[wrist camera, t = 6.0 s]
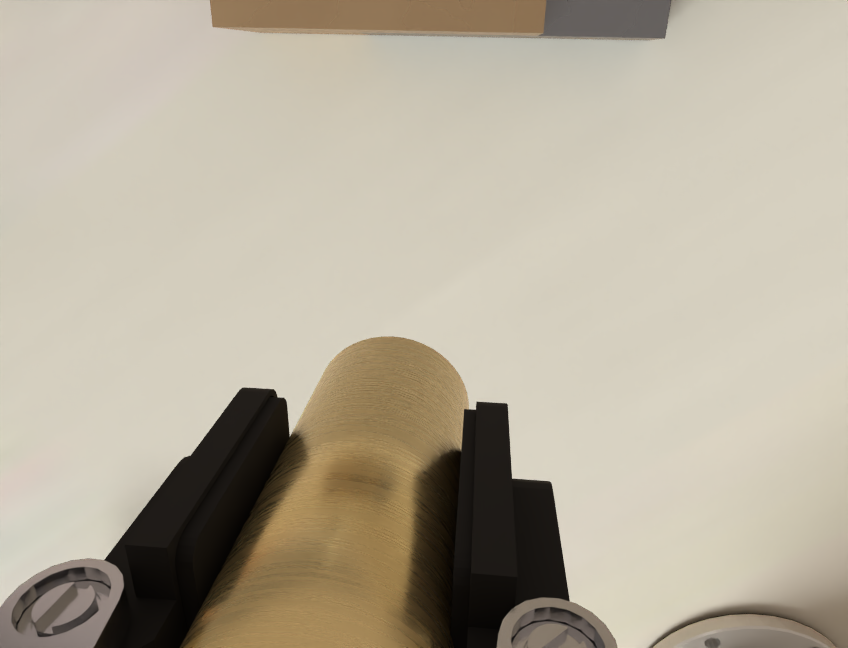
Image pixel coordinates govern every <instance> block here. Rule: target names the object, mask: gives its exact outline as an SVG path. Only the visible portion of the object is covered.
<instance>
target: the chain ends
mask: <svg viewBox="0 0 848 648" xmlns="http://www.w3.org/2000/svg"><path fill="white" fill-rule="evenodd" d="M670 4H671V0H210V5H211V15H212V24H213V27H217V28H226V29H234V30H243V31H251V32H260V33H306V34H356V35H407V36H458V37H509V38H560V39H611V40H655V39H664V38H665V35H666V29H667V23H668V16H669V10H670Z"/></svg>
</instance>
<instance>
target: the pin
mask: <svg viewBox="0 0 848 648" xmlns="http://www.w3.org/2000/svg"><path fill="white" fill-rule="evenodd" d="M464 409H469V402H468V396H467V392H466V389H465V386H464V383H463V381H462V379H461V377H460V375H459V374H458V372H457V371H456V370H455V368H454V367H453V366H452V365H451V364H450V363H449V361H448V360H446V359H445V358H444V357H443V356H442V355H441V354H439V353H438V352H436V351H435V350H433V349H432V348H430V347H428V346H426V345H424V344H422V343H419V342H416V341H414V340H410V339H405V338H400V337H376V338H370V339H366V340H362V341H360V342H357V343H355V344H353V345H351V346H349V347H347V348H346V349H344V350H343V351H342V352H340V353H339V354H338V355H337V356H336V357H335V358H334V359H333V360H332V361H331V362H330V363H329V365H328V366H327V368H326V369H325V371H324V373H323V375H322V377H321V379H320V381H319V383H318V385H317V386H316V388H315V390H314V392H313V394H312V396H311V398H310V400H309V402H308V404H307V406H306V408H305V409H304V411H303V413H302V415H301V417H300V419H299V421H298V423H297V425H296V427H295V429H294V430H293V432H292V434H291V436H290V438H289V440H288V442H287V444H286V446H285V448H284V450H283V451H282V453H281V455H280V457H279V459H278V461H277V463H276V465H275V467H274V469H273V471H272V472H271V474H270V476H269V478H268V480H267V482H266V484H265V486H264V488H263V490H262V492H261V494H260V495H259V497H258V499H257V501H256V503H255V505H254V507H253V509H252V511H251V513H250V515H249V516H248V518H247V520H246V522H245V524H244V526H243V528H242V530H241V532H240V534H239V536H238V537H237V539H236V541H235V543H234V545H233V547H232V549H231V551H230V553H229V555H228V557H227V558H226V560H225V562H224V564H223V566H222V568H221V570H220V572H219V574H218V576H217V578H216V580H215V581H214V583H213V585H212V587H211V589H210V591H209V593H208V595H207V597H206V599H205V601H204V602H203V604H202V606H201V608H200V610H199V612H198V614H197V616H196V618H195V620H194V622H193V623H192V625H191V627H190V629H189V631H188V633H187V635H186V637H185V639H184V641H183V643H182V644H181V646H180V648H454V645H453V641H452V637H451V635H450V631H451V609H452V587H453V568H454V552H455V537H456V522H457V507H458V492H459V478H460V463H461V448H462V433H463V418H464Z"/></svg>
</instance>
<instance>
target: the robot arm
mask: <svg viewBox="0 0 848 648" xmlns="http://www.w3.org/2000/svg"><path fill="white" fill-rule="evenodd" d="M289 438H290V436H289V424H288V411H287V402H286V400H285V399H284V398H277V394H276V391H275V390H274V389H259V388H242V389H241V390H239V392H238V393H237V394H236V396H235V397H234V398H233V400H232V401H231V402H230V404H229V405H228V406H227V408H226V409H225V411H224V412H223V413H222V415H221V416H220V417H219V419H218V420H217V421H216V423H215V424H214V425H213V427H212V428H211V429H210V431H209V432H208V433H207V435H206V436H205V437H204V439H203V440H202V441H201V443H200V444H199V445H198V447H197V448H196V449H195V451H194V452H193V453H192V455H191V456H188V457H185V458H183V459H182V460H181V461H180V462H179V463H178V464H177V466H176V467H175V468H174V470H173V471H172V472H171V474H170V475H169V476H168V477H167V479H166V480H165V481H164V483H163V484H162V485H161V487H160V488H159V489H158V491H157V492H156V493H155V494H154V496H153V497H152V498H151V500H150V501H149V502H148V504H147V505H146V506H145V508H144V509H143V510H142V511H141V513H140V514H139V515H138V517H137V518H136V519H135V521H134V522H133V523H132V525H131V526H130V527H129V528H128V530H127V531H126V532H125V534H124V535H123V536H122V538H121V539H120V540H119V542H118V543H117V544H116V546H115V547H114V548H113V549H112V551H111V552H110V553H109V555H108V556H107V557H106V559H105V560H98V559H90V558H89V559H80V560H71V561H68V562H65V563H61V564H58V565H55V566H52V567H50V568H48V569H46V570H44V571H42V572H40V573H38V574H36V575H34V576H33V577H31V578H30V579H28V580H27V581H26V582H24V583H23V584H21V585H20V586H19V587H18V588H17V589H16V590H15V591H14V592H13V593H12V594H11V595H10V596H9V597H8V598H7V599H6V601H5V602H4V603H3V605H2V606H1V607H0V648H180V646H181V644H182V643H183V641H184V639H185V637H186V635H187V633H188V631H189V629H190V627H191V625H192V623H193V622H194V620H195V618H196V616H197V614H198V612H199V610H200V608H201V606H202V604H203V602H204V601H205V599H206V597H207V595H208V593H209V591H210V589H211V587H212V585H213V583H214V581H215V580H216V578H217V576H218V574H219V572H220V570H221V568H222V566H223V564H224V562H225V560H226V558H227V557H228V555H229V553H230V551H231V549H232V547H233V545H234V543H235V541H236V539H237V537H238V536H239V534H240V532H241V530H242V528H243V526H244V524H245V522H246V520H247V518H248V516H249V515H250V513H251V511H252V509H253V507H254V505H255V503H256V501H257V499H258V497H259V495H260V494H261V492H262V490H263V488H264V486H265V484H266V482H267V480H268V478H269V476H270V474H271V472H272V471H273V469H274V467H275V465H276V463H277V461H278V459H279V457H280V455H281V453H282V451H283V450H284V448H285V446H286V444H287V442H288V440H289ZM450 635H451V637H452V641H453V645H454V648H617V644H616V640H615V639H614V637H613V635H612V634H611V632H610V631H609V629H608V628H607V626H606V625H605V624H604V623H603V622H602V621H601V620H600V619H599V618H598V617H597V616H595V615H594V614H593V613H592V612H590V611H589V610H587V609H585V608H583V607H581V606H580V605H578V604H576V603H573V602H570V600H569V594H568V587H567V581H566V574H565V567H564V561H563V554H562V548H561V541H560V534H559V528H558V521H557V515H556V508H555V501H554V495H553V489H552V484H551V482H550V481H537V480H523V479H512V472H511V455H510V438H509V421H508V405H507V404H505V403H489V402H477V403H476V410H470V409H464V418H463V433H462V448H461V463H460V478H459V492H458V507H457V522H456V537H455V552H454V568H453V587H452V609H451V631H450ZM653 648H836V647H835V646H834V645H833V644H832V643H831V642H830V641H829V640H828V639H827V638H826V637H825V636H823V635H821V634H820V633H818V632H817V631H815V630H814V629H812V628H810V627H807V626H805V625H802V624H800V623H798V622H795V621H792V620H788V619H784V618H779V617H775V616H768V615H756V614H739V615H726V616H720V617H715V618H709V619H706V620H703V621H699V622H696V623H693V624H690V625H688V626H686V627H684V628H682V629H680V630H678V631H676V632H674V633H672V634H670V635H669V636H667V637H666V638H664V639H663V640H662V641H660V642H659V643H657V644H656V645H655V646H654V647H653Z"/></svg>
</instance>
